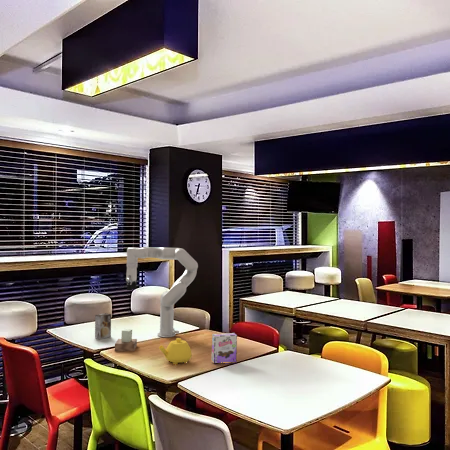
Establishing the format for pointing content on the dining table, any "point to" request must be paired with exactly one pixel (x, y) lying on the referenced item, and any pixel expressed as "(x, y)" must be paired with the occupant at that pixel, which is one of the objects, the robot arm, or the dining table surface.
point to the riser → (125, 345)
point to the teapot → (177, 351)
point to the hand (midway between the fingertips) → (131, 289)
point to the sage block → (126, 335)
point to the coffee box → (102, 325)
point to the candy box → (224, 347)
